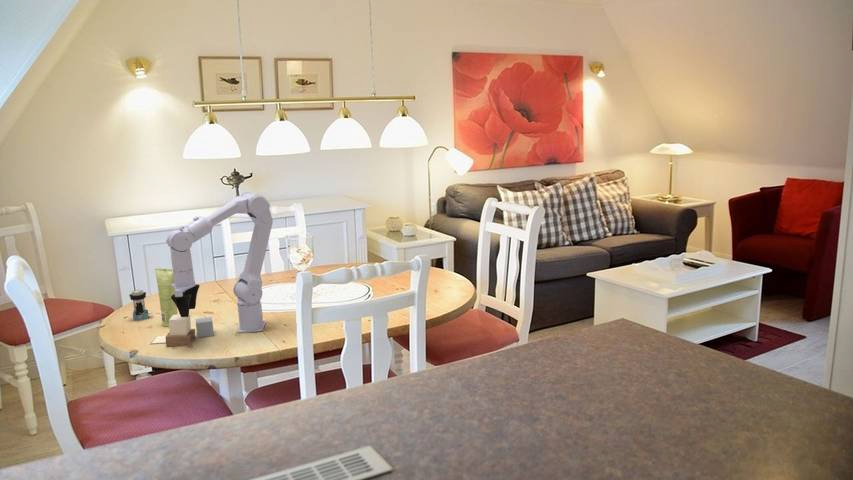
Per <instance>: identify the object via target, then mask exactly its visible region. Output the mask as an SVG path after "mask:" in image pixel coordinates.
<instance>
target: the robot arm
mask: <svg viewBox="0 0 853 480" xmlns="http://www.w3.org/2000/svg"><path fill="white" fill-rule="evenodd" d="M270 207H271V204H270V202H269V201H268V199H266V197H265V196H263V195H260V194H255V193H252V192H248V191H247V192H243V193H242V194H241V195H238V196H237V195H236V196H235V197H234V198H233V199H232V200H229V202H227V203H225V204H224V205H222V206H221V207H220V208H218V209H216V210H215V211H214V212H212V213H211V214H209V215H208V216H202V215H200V216H194V217H193V218H192V219H193V220H192V221H190V222H188V223H187V224H184V225H180V226H179V229H175V230H172V231H170V232H169V233H168V235H167V238H166V244H167V246H168V247H169V248H170V255H171V256H170V259H171V266H172V267H171V269H173V276H174V283H175V284H172V285H171V288H173V287H174V288H175V294H173V295H172V296H171V299H172V300H173V301H174V303H175V304H176V306H177V312H178V313H179V315H180V316H181V317H188V316H189V315H190V310H195V309H196V306H197V297H198V296H197V295H198V291H199V289H200V284H196V281H195V276H194V275H195V274H194V268H193V267H194V266H193V258H192V254H191V248H192V245H193V244H194V243H196V242H198V241H199V240H201V239H203V238H204V237H206V236H207V235H209V234H211V233H212V232H213V227H214V226H215V225H218V224H219V223H221V222H224V221H225V220H227V219H229V218H231V217H232V216H233V215H236V214H241V215H242V214H246V215H247V216H248V217H250V220H252V222H253V223H254V227H253V231H252V234H251V239H250V242H249V246H248V251H247V255H246V260H245V264H244V269H243V271H242V272H241V273H240V274H239V275H238V280H236V281H237V282H236V283H235V284H234V285H233V290H232V291H233V294H234V296H235V297H237V312H238V313H237V315H238V323H239V326H238V328H237V330H236V333H238V334H239V333H240V334H241V333H253V332H262V331H264V327H265V325H266V323H267V320H264V318H263V308H262V303H261V299H262V297H263V289H262V288H263V287H262V286H263V281H262V277H261V273H262V268H263V265H264V260H265V257H266V253H267V247H268V244H269V240H270V235H271V231H272V227H273V217H272V213H271V210H270Z"/></svg>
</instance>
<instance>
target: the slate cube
mask: <svg viewBox="0 0 853 480" xmlns="http://www.w3.org/2000/svg"><path fill="white" fill-rule="evenodd" d="M195 326H196V328H195V331H196V336H197V339H198V338H207V337H212V336H215V332H214V322H213V318H212V316H206V317H200V318H195Z"/></svg>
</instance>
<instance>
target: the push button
mask: <svg viewBox="0 0 853 480" xmlns="http://www.w3.org/2000/svg"><path fill="white" fill-rule="evenodd" d="M128 296H129V299H130V301H132V303H133V312H132V317H133V318H132V320H133V321H142V320H148V319H149V318H150V317H151V318H152V317H153V314H154V312H151V313H149V310H148V309H147V308H146V304H145V303H146V302H145V298H146V297H147V292H145V291H144V290H143V289H136V290H133V291H131V293H130V294H129V295H128Z"/></svg>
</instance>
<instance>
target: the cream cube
mask: <svg viewBox="0 0 853 480" xmlns="http://www.w3.org/2000/svg"><path fill="white" fill-rule="evenodd" d="M191 325H192V324H191V314H189V316H188V317H181V316H180V314H178V315H173V316H172V317H171V318H170V319H169V327H168V328H169V332H170V336H183V335H187V334H188V333H189V332H190V330H191V329H192V328H191Z"/></svg>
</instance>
